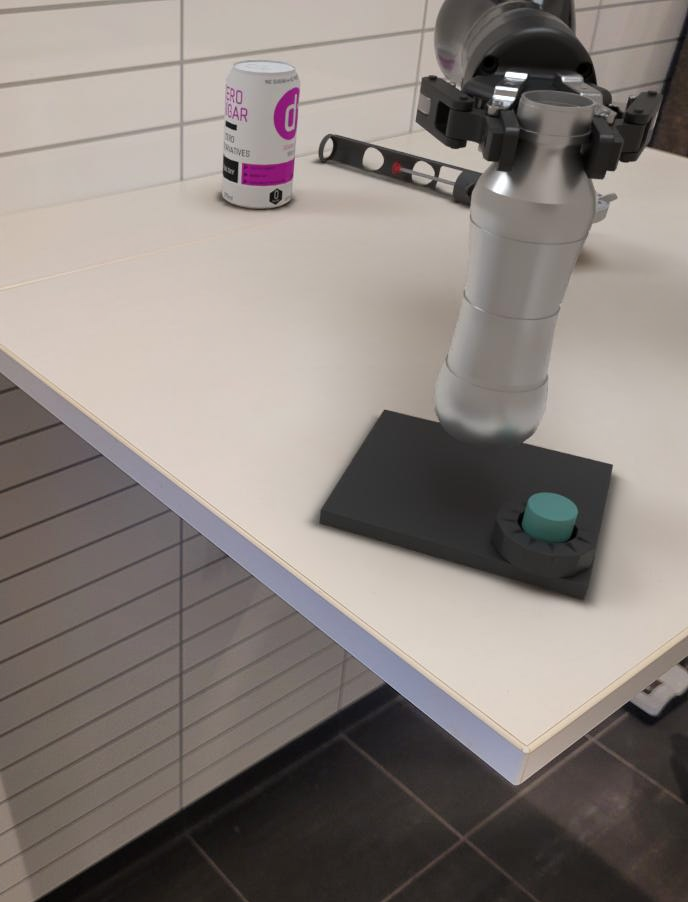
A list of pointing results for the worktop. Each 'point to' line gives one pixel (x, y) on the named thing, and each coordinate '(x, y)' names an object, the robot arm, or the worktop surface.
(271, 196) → the supplement can
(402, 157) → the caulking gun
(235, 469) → the worktop surface
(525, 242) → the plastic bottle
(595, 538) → the scale
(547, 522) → the button
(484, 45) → the robot arm
